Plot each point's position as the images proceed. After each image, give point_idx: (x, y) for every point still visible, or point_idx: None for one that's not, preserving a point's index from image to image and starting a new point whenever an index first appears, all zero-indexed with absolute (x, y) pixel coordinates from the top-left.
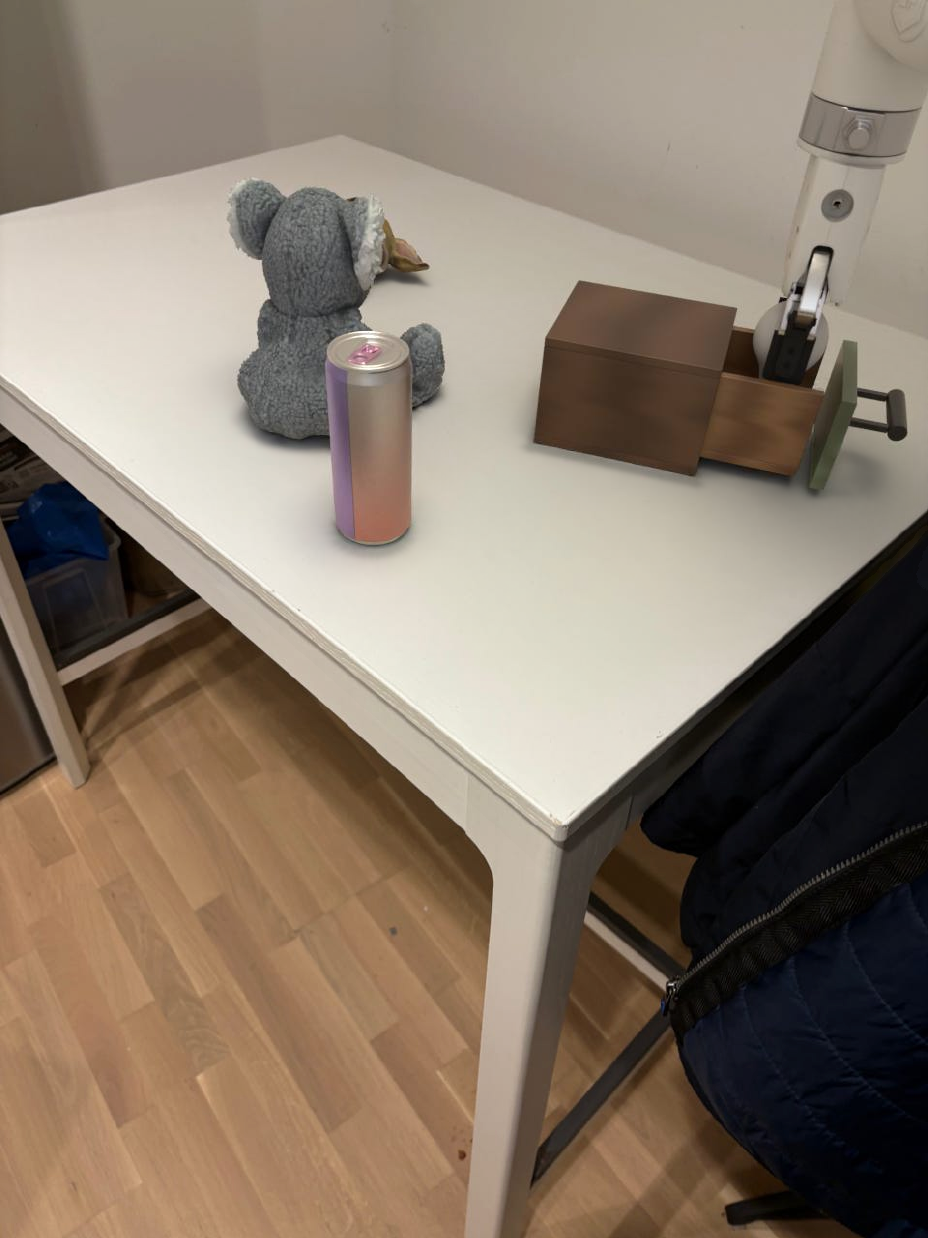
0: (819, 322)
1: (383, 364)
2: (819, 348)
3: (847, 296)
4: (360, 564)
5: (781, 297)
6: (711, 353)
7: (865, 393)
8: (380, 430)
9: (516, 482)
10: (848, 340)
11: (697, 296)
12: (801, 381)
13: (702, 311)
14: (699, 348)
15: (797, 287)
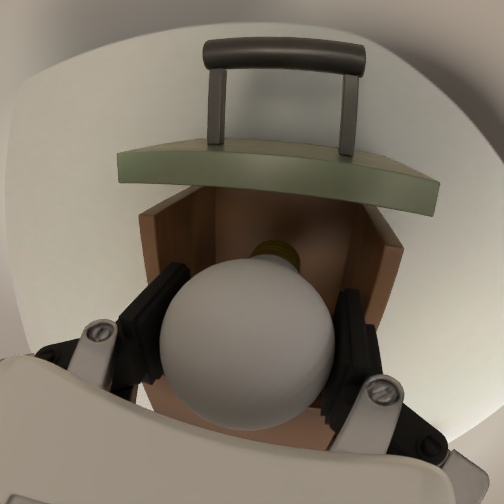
0: (273, 363)
1: None
2: (311, 306)
3: (448, 495)
4: (442, 431)
5: (142, 380)
6: (317, 420)
7: (222, 107)
8: None
9: None
10: (118, 172)
11: (36, 270)
12: (358, 291)
13: (177, 405)
14: (303, 427)
15: (121, 383)
